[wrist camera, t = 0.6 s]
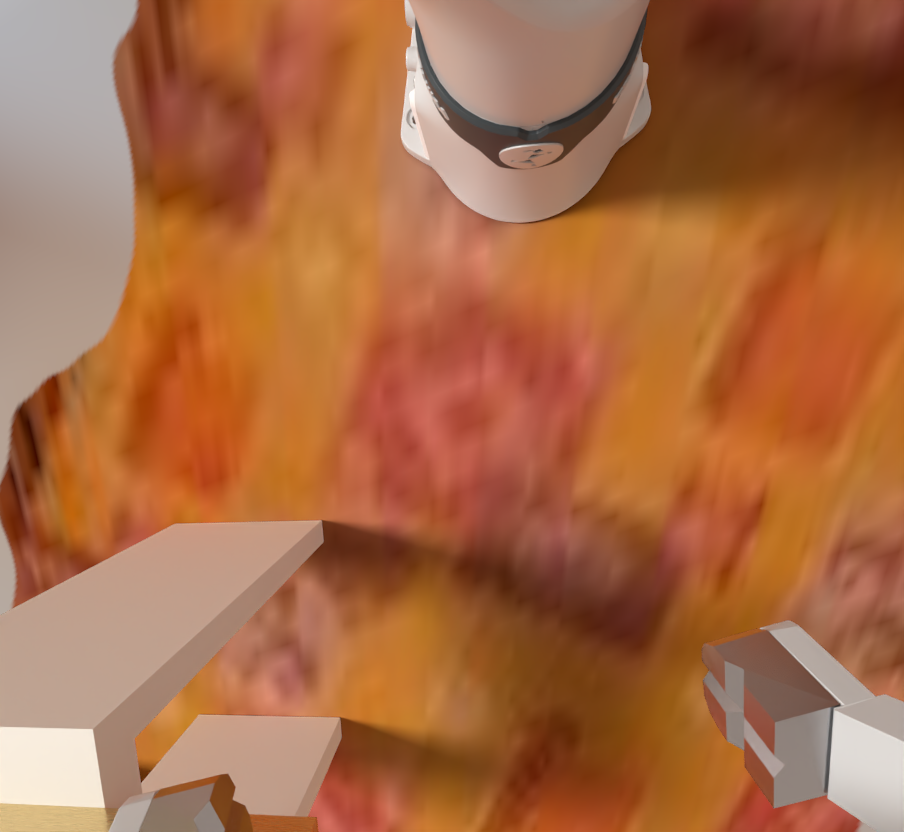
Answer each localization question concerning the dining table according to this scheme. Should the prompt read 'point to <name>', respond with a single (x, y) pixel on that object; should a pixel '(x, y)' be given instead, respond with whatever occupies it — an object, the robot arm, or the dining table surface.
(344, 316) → the dining table surface
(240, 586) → the white upright block
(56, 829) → the light wood bar
